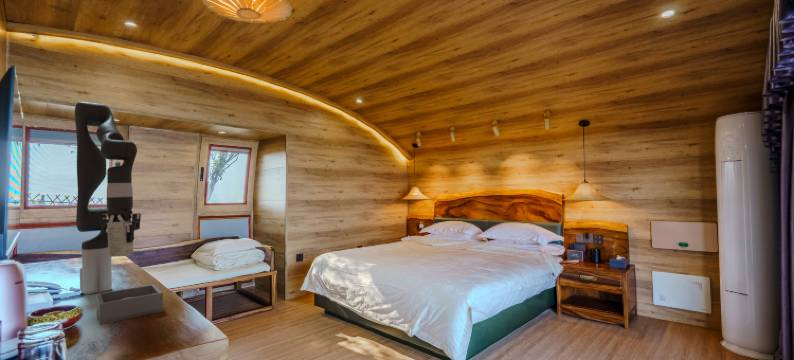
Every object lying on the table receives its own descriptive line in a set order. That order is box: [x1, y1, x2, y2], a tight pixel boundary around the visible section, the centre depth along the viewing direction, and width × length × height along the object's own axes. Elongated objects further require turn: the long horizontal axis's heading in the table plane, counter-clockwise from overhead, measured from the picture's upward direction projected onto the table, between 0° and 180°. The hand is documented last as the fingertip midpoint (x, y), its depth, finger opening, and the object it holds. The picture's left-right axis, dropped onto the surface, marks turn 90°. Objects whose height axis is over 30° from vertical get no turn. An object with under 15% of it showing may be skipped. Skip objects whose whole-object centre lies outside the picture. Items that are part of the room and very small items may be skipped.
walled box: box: [96, 283, 164, 326], centre depth 122 cm, size 16×16×6 cm
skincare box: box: [107, 221, 134, 258], centre depth 134 cm, size 6×4×12 cm
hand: (120, 242), depth 134 cm, fingers closed on skincare box, 6 cm apart
